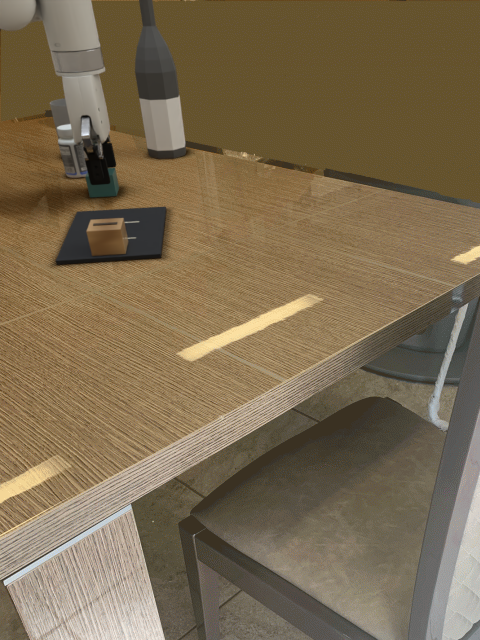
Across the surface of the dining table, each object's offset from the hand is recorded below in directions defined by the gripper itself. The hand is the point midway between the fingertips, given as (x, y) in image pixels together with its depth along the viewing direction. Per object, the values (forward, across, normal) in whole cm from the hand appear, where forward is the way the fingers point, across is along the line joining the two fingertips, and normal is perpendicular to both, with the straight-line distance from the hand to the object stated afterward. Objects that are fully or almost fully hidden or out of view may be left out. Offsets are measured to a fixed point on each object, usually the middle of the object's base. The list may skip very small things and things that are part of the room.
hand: (104, 175), depth 110 cm
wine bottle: (+3, -24, +9) cm, 26 cm away
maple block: (+2, +28, +3) cm, 28 cm away
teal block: (+3, 0, -1) cm, 3 cm away
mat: (+3, +21, +3) cm, 22 cm away
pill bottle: (+3, -12, -7) cm, 14 cm away
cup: (+3, -26, -8) cm, 27 cm away
